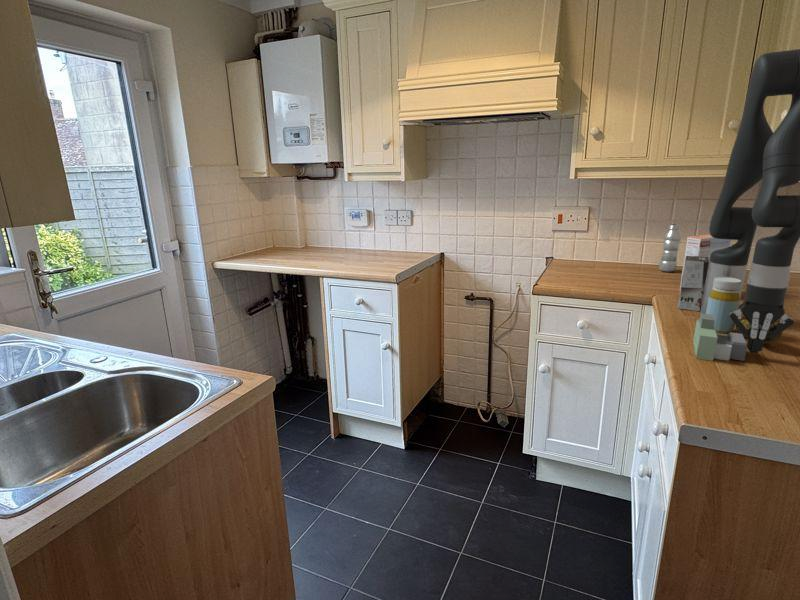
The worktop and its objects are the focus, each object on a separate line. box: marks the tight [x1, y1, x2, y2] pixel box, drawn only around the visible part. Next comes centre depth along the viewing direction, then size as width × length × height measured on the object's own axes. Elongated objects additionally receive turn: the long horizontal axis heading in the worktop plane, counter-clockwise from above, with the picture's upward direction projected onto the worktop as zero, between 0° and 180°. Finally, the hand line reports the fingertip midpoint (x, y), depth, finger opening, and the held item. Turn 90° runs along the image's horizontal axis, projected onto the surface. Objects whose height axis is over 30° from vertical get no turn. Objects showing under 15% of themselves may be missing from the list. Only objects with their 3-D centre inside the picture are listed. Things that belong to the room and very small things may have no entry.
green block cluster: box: [692, 313, 732, 362], centre depth 118 cm, size 13×7×8 cm, turn 152°
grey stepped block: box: [717, 332, 748, 362], centre depth 117 cm, size 8×6×4 cm
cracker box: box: [679, 234, 731, 295], centre depth 166 cm, size 14×6×21 cm, turn 108°
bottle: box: [706, 277, 741, 335], centre depth 131 cm, size 7×7×15 cm
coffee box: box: [677, 256, 709, 312], centre depth 153 cm, size 9×6×16 cm
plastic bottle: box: [658, 223, 682, 273], centre depth 199 cm, size 6×7×20 cm
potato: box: [735, 319, 783, 345], centre depth 123 cm, size 8×13×8 cm, turn 154°
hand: (753, 351), depth 115 cm, fingers closed
